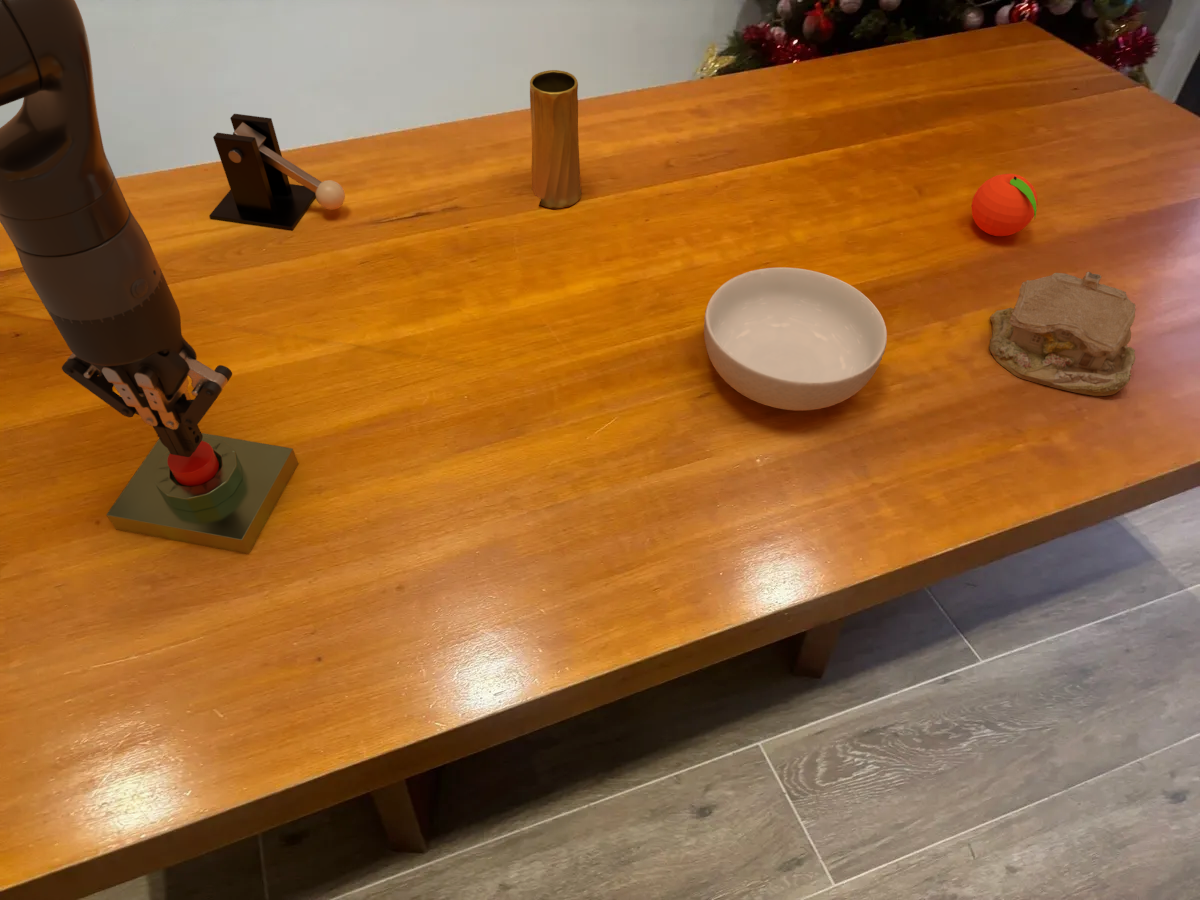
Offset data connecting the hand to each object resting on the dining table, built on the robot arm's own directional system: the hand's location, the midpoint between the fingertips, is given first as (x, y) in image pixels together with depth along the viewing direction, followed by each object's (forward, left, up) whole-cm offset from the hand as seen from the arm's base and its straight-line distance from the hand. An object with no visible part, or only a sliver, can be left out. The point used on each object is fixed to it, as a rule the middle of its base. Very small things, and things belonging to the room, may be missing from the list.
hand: (186, 447), depth 73 cm
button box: (0, 0, -6) cm, 7 cm away
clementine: (+71, +55, -7) cm, 90 cm away
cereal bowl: (+48, +26, -7) cm, 55 cm away
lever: (-10, +40, -2) cm, 41 cm away
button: (0, 0, -3) cm, 3 cm away
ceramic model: (+75, +35, -7) cm, 83 cm away
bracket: (-13, +40, -6) cm, 43 cm away
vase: (+19, +51, -7) cm, 55 cm away
